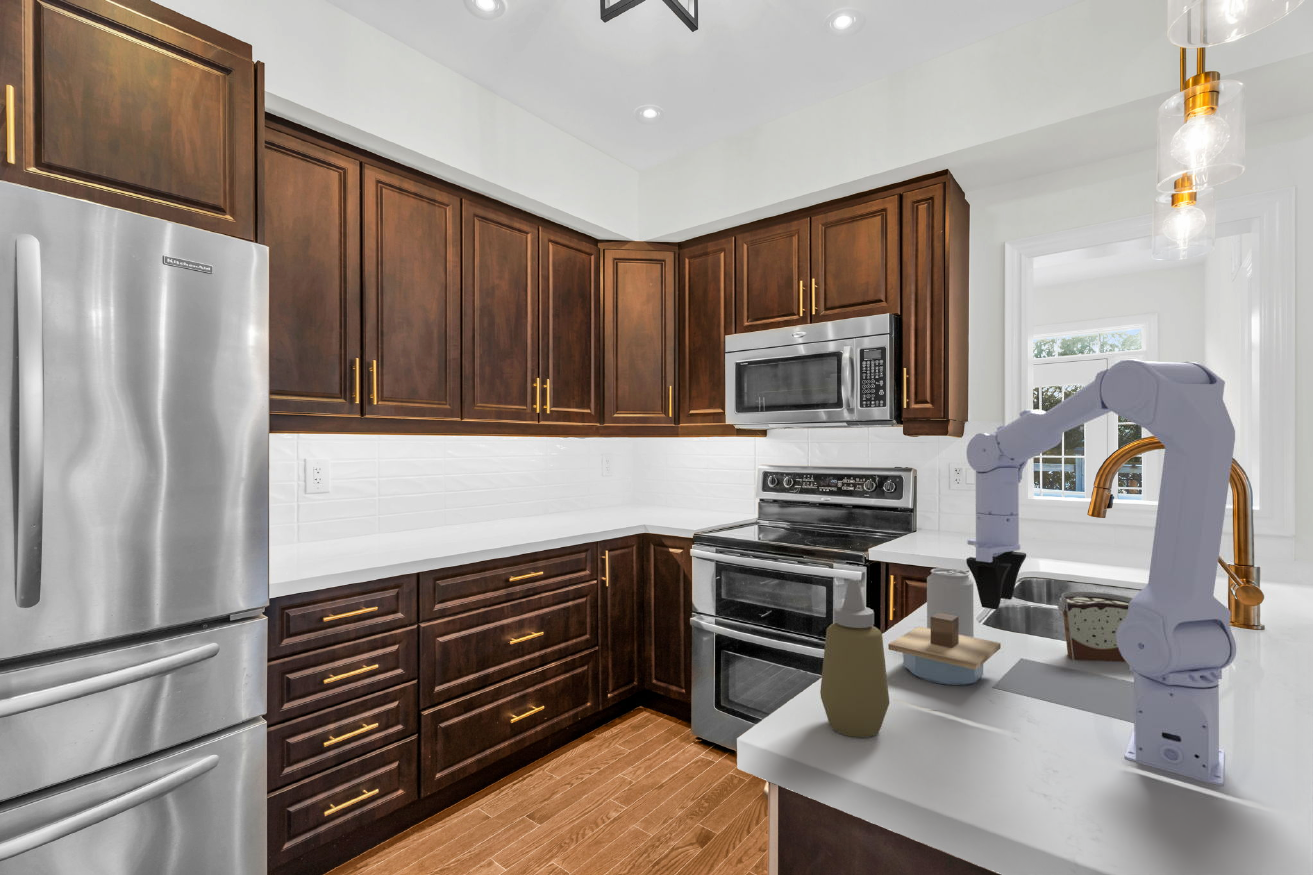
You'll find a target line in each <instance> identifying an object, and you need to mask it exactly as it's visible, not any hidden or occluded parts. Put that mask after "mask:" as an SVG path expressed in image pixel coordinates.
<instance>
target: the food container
mask: <svg viewBox="0 0 1313 875" xmlns="http://www.w3.org/2000/svg"><path fill="white" fill-rule="evenodd" d="M1133 598H1134V597H1130V596H1126V595H1125V596H1124V595H1119V594H1113V593H1106V592H1098V591H1067V592H1064V593H1062V594H1061V597H1060V598H1059V600H1058V606H1057V609H1058V611H1061V612H1062V616H1063V623H1064V624H1063V625H1064V632H1065V634H1064V635H1065V642H1066V651H1067V652H1066V653H1067V657H1068V658H1069V659H1070V660H1072V661H1092V662H1093V661H1095V662H1119V663H1123V662H1124V663H1127V662H1126V661H1125V660H1124V658H1123V657H1122V655H1121V653H1120V651H1119V648H1118V645H1117V639H1116V635H1117V630H1118V627H1119V625H1120V624H1121V622H1122V621H1123V620H1124V619H1125V617H1126V615H1127V613H1128V607H1129V602H1130V601H1131V600H1132V599H1133Z"/></svg>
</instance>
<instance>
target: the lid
mask: <svg viewBox="0 0 1313 875" xmlns="http://www.w3.org/2000/svg"><path fill="white" fill-rule="evenodd" d="M887 644H888V647H887V650H889V651H893V652H898V653H902V654H903V653H906V654H910V655H914V656H919V657H923V658H927V659H931V660H936V661H940V662H944V663H948V664H953V665H957V666H961V667H965V668H970V669H974V670H977V669H978V668H979V667H980V666H981V665H982V664H983V665H984V663H985V662H987V661H988V660H989V659H990V658H991V657H992V656H994V655H995V654H996V653H997V652H998V651H1000V649H1001V647H1002V646H1001V645H1002V644H1001V642H998V641H993V640H987V639H982V638H977V637H969V636H964V635H959V616H953V615H948V614H942V613H936V614H934V615H933V616H931V629H929V628H927V627H923V626H917V627H915V628H913V629H912V630H910V631H908V632H907V633H904V634H903V635H902V636H900V637H898V638H896V639H894V640H893V641H891V642H889V643H887Z"/></svg>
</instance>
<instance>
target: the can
mask: <svg viewBox="0 0 1313 875" xmlns="http://www.w3.org/2000/svg"><path fill="white" fill-rule="evenodd" d="M930 572H931V574H930V575H928V576H927V577H926V628H929V629H931V616H933V615H934V614H936V613H942V614H948V615H953V616H959V635H964V636H969V637H974V635H975V634H974V632H975V630H974V629H975V628H974V622H975V621H974V581H973V580H972V578H970V577H969V576H970V572H968V571H966V570H962V569H958V568H957V569H956V568H942V567H941V568H932V569H931V570H930ZM974 638H975V637H974Z"/></svg>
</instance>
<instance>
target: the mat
mask: <svg viewBox="0 0 1313 875" xmlns="http://www.w3.org/2000/svg"><path fill="white" fill-rule="evenodd" d="M991 688H992V689H995V690H1001V691H1004V692H1009V693H1012V694H1017V695H1019V696H1025V697H1029V698H1031V699H1036V700H1039V701H1040V700H1041V701H1044V702H1048V703H1053V704H1057V705H1060V706H1065V707H1069V708H1074V709H1077V710H1081V711H1085V712H1089V713H1092V714H1097V715H1101V716H1105V717H1108V718H1109V717H1110V718H1113V719H1117V720H1120V721H1125V722H1128V723H1133V724H1134V681H1131V680H1125V679H1120V678H1117V677H1116V678H1115V677H1112V676H1111V677H1110V676H1106V675H1102V674H1097V673H1093V672H1087V671H1083V670H1079V669H1074V668H1068V667H1064V666H1059V665H1056V664H1051V663H1046V662H1040V661H1035V660H1031V659H1027V658H1020V659H1018V661H1017V662H1015V664H1014V665H1012V667H1010V669H1008V671H1007V672H1006V673H1005V674H1004V675H1003V676H1002V677H1001V678H1000V679H999V680H998V681H997V682H995V684H994V685H993V686H992V687H991Z"/></svg>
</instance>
